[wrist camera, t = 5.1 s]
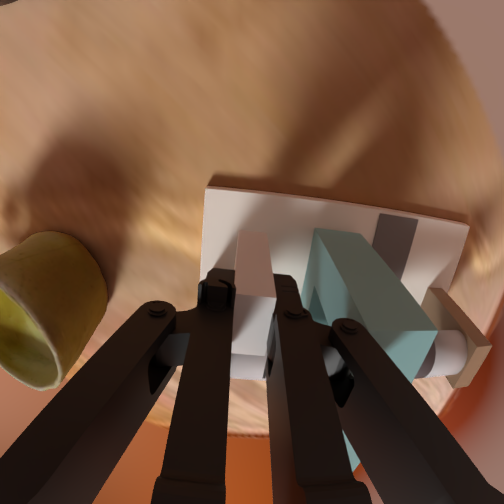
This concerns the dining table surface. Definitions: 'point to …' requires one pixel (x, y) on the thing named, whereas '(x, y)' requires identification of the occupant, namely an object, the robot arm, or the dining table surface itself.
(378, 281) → the collar
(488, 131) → the dining table surface
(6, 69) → the dining table surface
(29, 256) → the mug
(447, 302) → the pipe rail
